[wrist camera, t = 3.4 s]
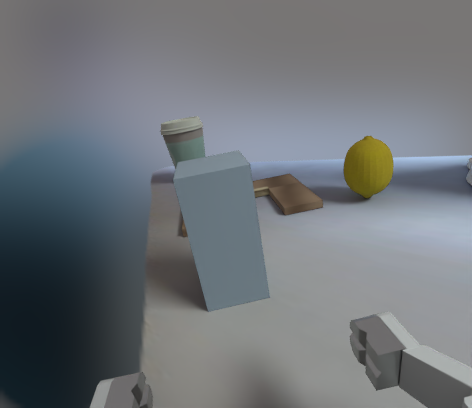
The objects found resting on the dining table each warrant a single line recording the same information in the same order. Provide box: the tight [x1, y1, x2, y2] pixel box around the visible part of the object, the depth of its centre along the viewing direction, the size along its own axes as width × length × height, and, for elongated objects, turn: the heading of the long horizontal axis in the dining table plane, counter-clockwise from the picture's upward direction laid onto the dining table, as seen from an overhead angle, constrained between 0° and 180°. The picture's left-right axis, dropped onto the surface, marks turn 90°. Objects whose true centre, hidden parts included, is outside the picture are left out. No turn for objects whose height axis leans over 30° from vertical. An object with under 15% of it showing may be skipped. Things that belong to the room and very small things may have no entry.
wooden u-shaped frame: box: [182, 174, 323, 237], centre depth 40 cm, size 18×13×1 cm
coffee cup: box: [161, 117, 205, 169], centre depth 55 cm, size 9×9×12 cm
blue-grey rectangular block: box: [173, 151, 270, 312], centre depth 22 cm, size 5×5×11 cm
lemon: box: [344, 136, 393, 198], centre depth 34 cm, size 6×6×8 cm
